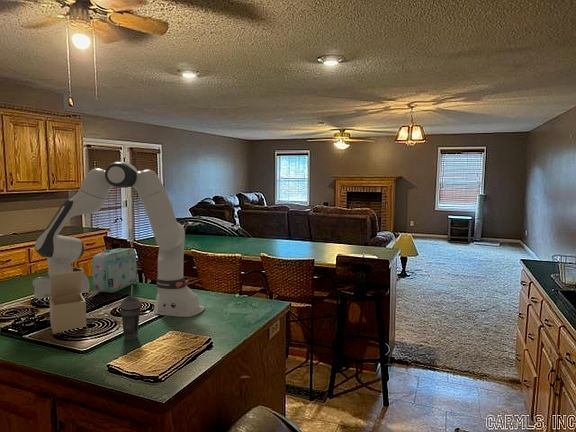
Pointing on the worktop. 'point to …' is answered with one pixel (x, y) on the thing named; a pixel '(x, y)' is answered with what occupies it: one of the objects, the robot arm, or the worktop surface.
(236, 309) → the worktop surface
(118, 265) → the lunch box
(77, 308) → the mailer box
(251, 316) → the worktop surface
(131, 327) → the beverage cup
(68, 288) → the lid
